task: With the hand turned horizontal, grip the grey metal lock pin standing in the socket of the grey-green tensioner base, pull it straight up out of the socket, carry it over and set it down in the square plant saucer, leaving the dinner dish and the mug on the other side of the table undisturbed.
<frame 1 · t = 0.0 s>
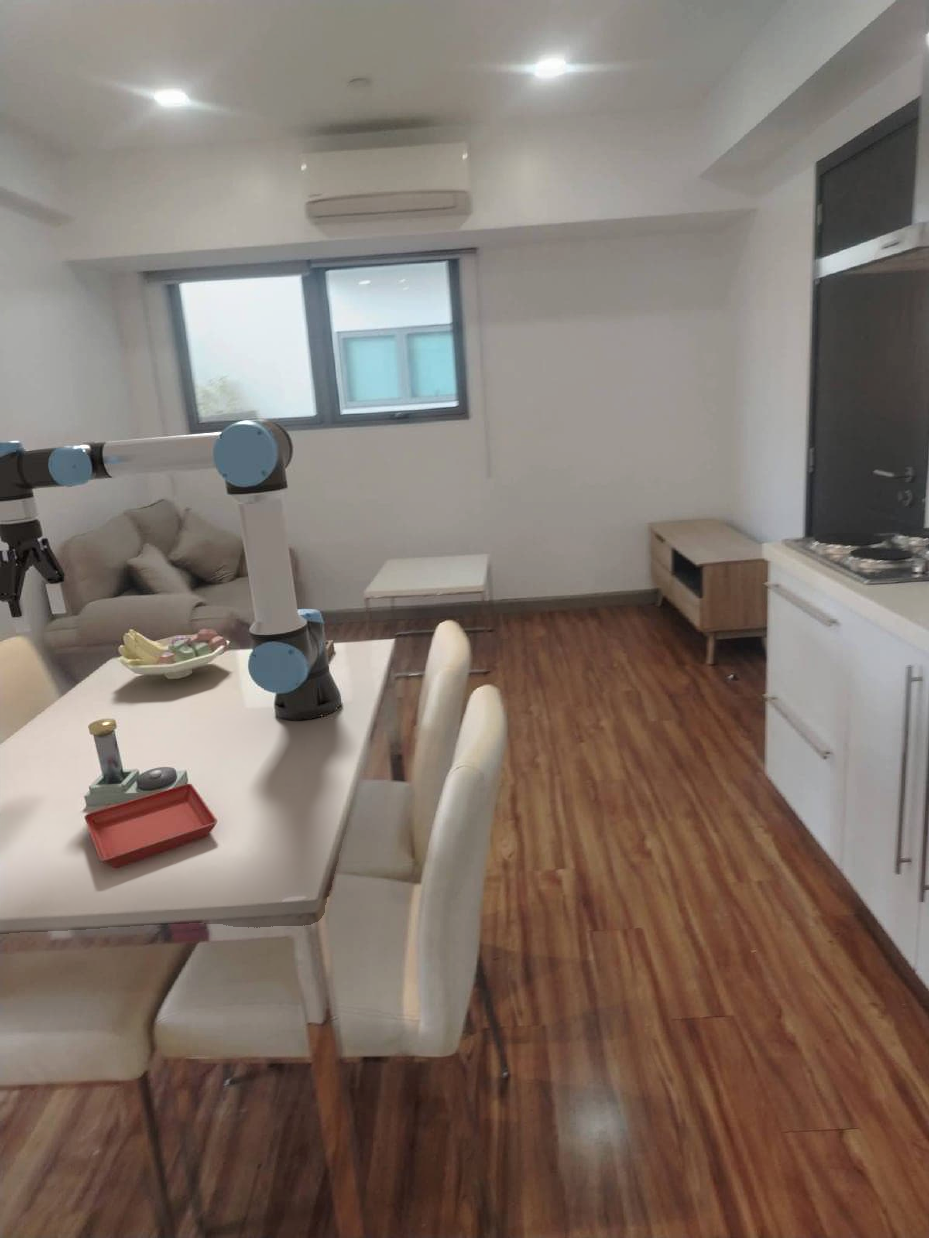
hand: (42, 622, 164), 28 cm above the table, tool pointing down, fingers open, 13 cm apart
lock pin: (115, 783, 148), point 2 cm above the table, touching tensioner base
pottery mug: (299, 664, 215), on the table
mug caddy: (299, 662, 214), on the table
dish with food: (179, 675, 213), on the table
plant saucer: (153, 836, 133), on the table
tensioner base: (117, 793, 148), on the table
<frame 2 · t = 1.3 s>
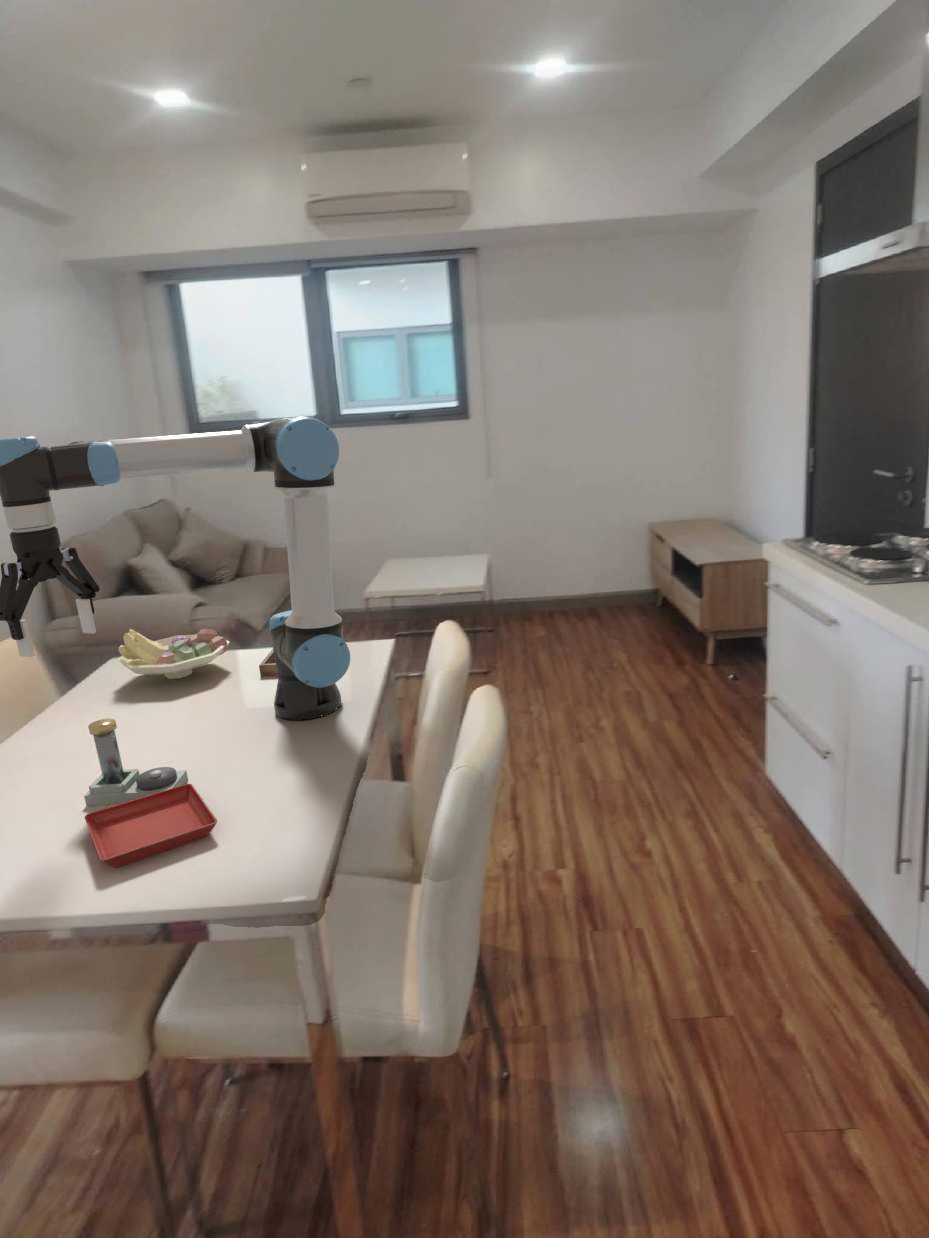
hand: (59, 644, 144), 29 cm above the table, tool pointing down, fingers open, 13 cm apart
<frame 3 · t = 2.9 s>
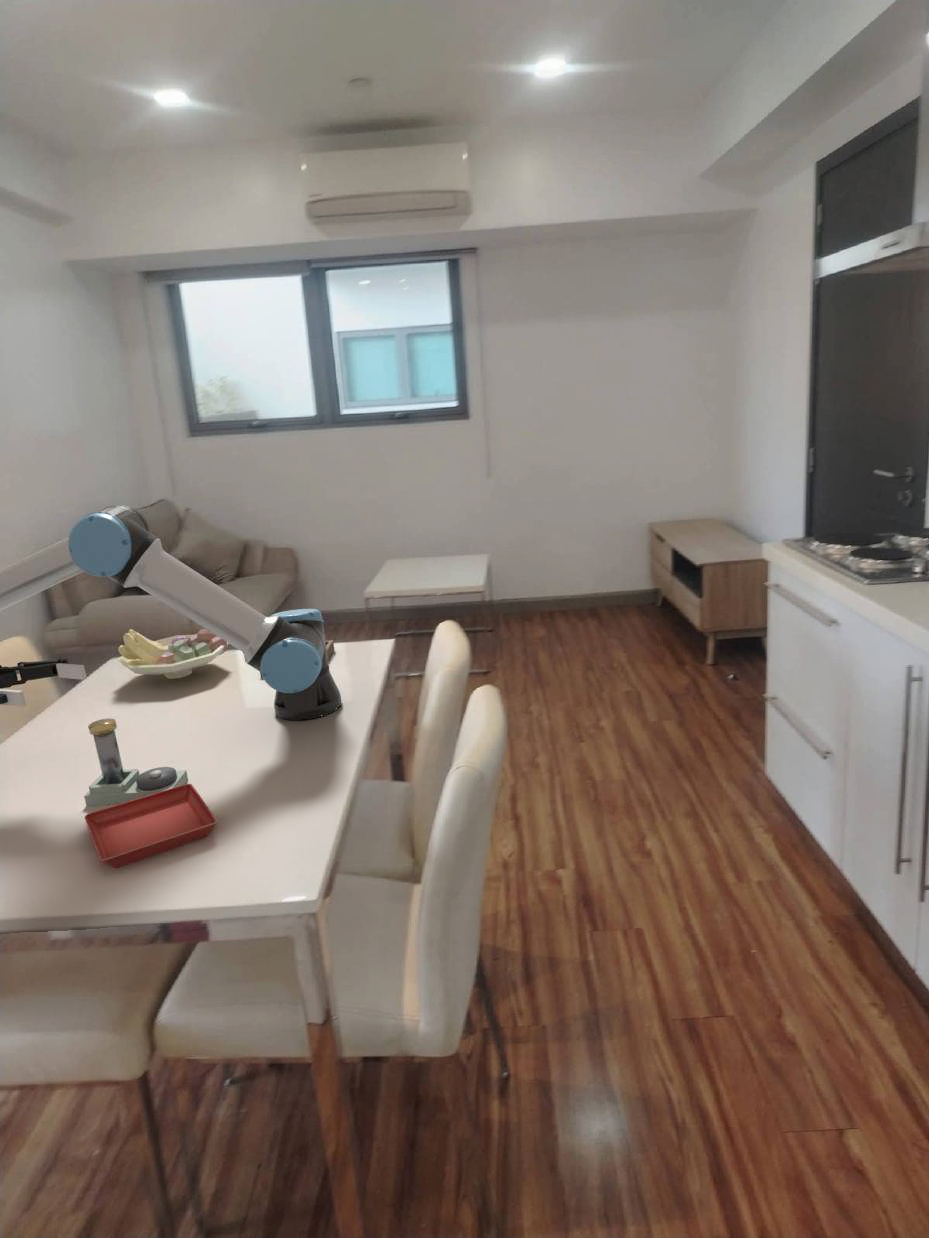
hand: (54, 685, 146), 21 cm above the table, tool horizontal, fingers open, 13 cm apart
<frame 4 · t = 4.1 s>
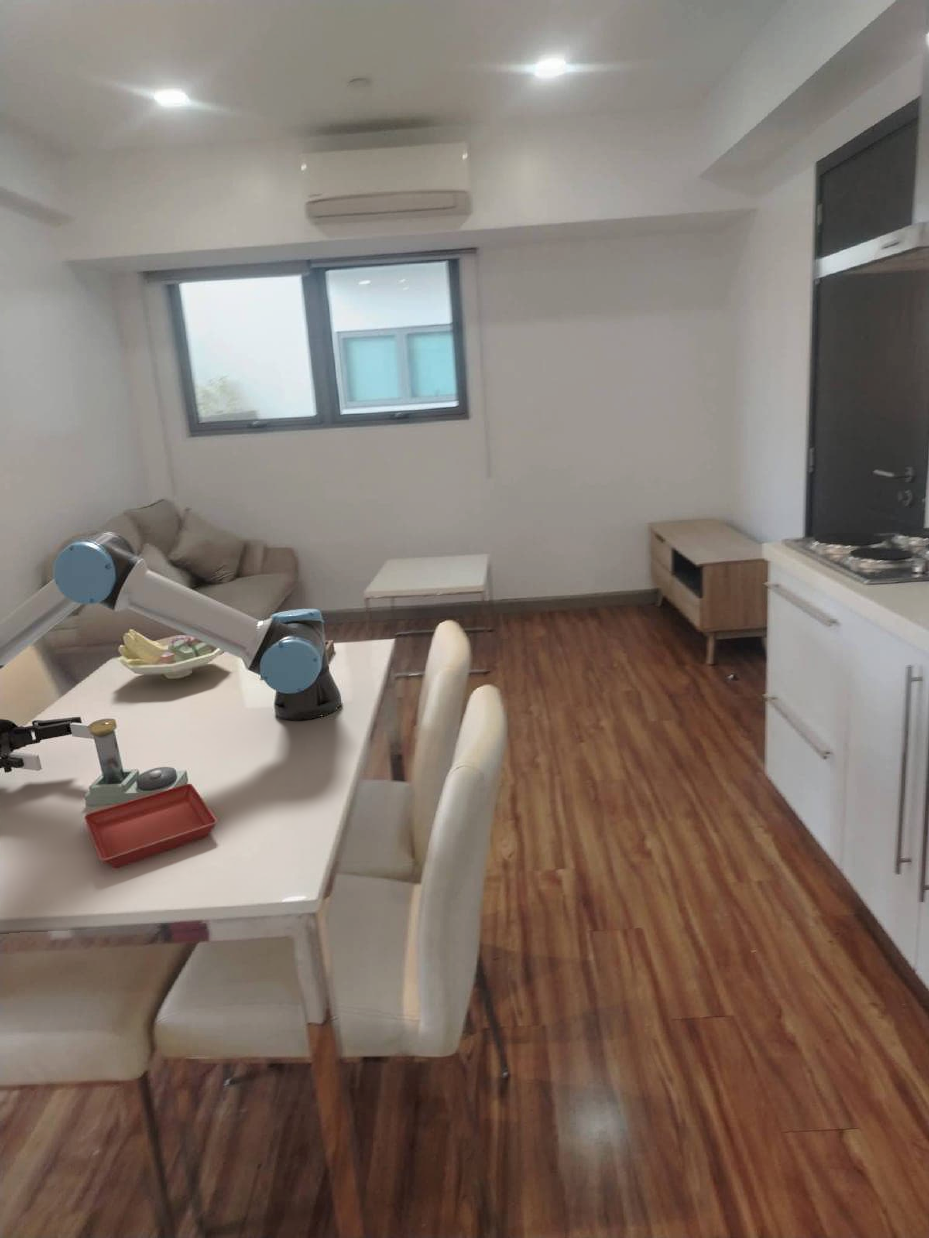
hand: (69, 747, 149), 9 cm above the table, tool horizontal, fingers open, 13 cm apart
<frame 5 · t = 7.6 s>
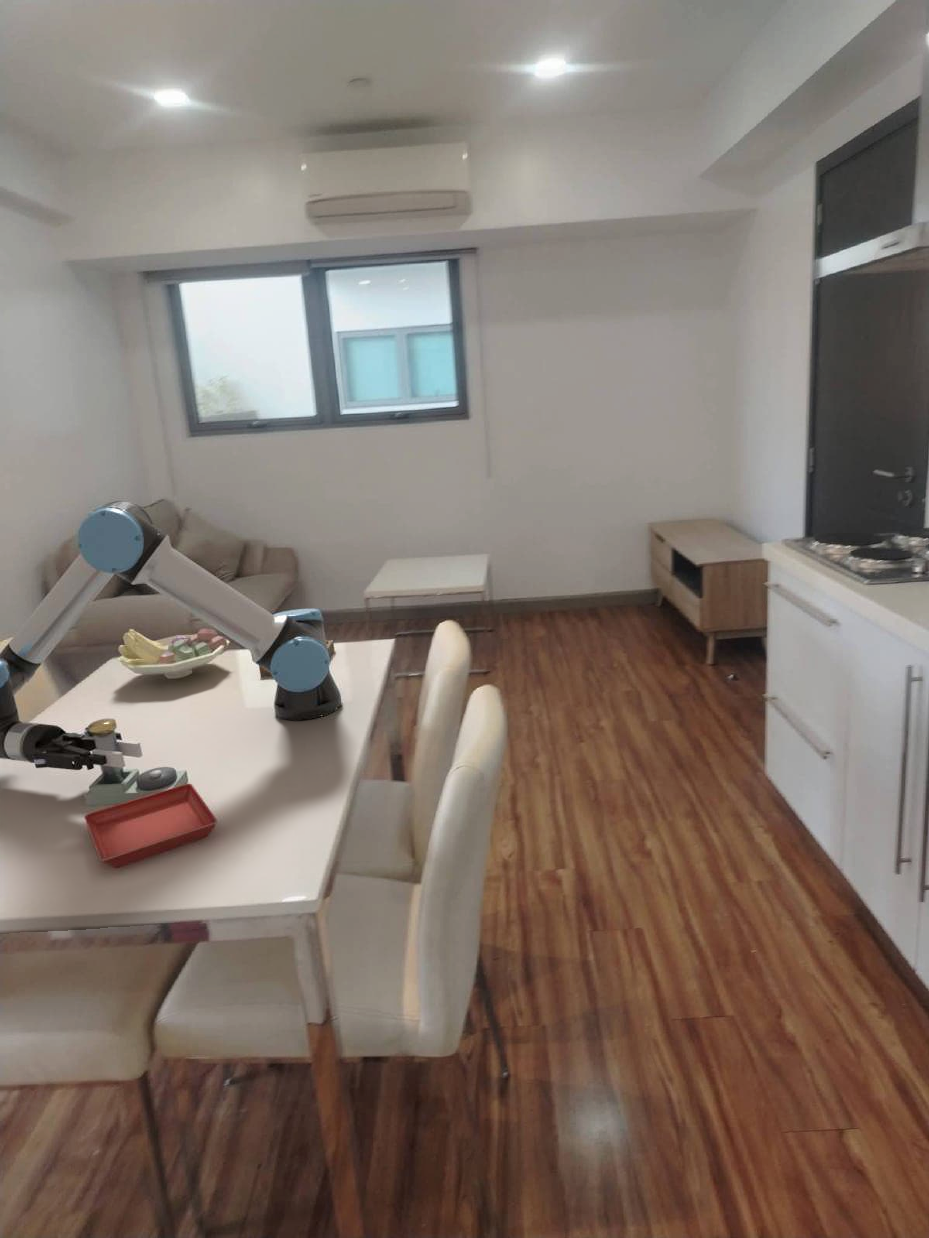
hand: (130, 754, 144), 8 cm above the table, tool horizontal, fingers closed on lock pin, 3 cm apart
lock pin: (115, 783, 148), point 2 cm above the table, touching gripper, tensioner base
pottery mug: (305, 665, 213), on the table, touching mug caddy
everything else where it was.
when the fingers open (9 cm above the table, at t = 12.6 s): lock pin stays where it is, resting on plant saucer.
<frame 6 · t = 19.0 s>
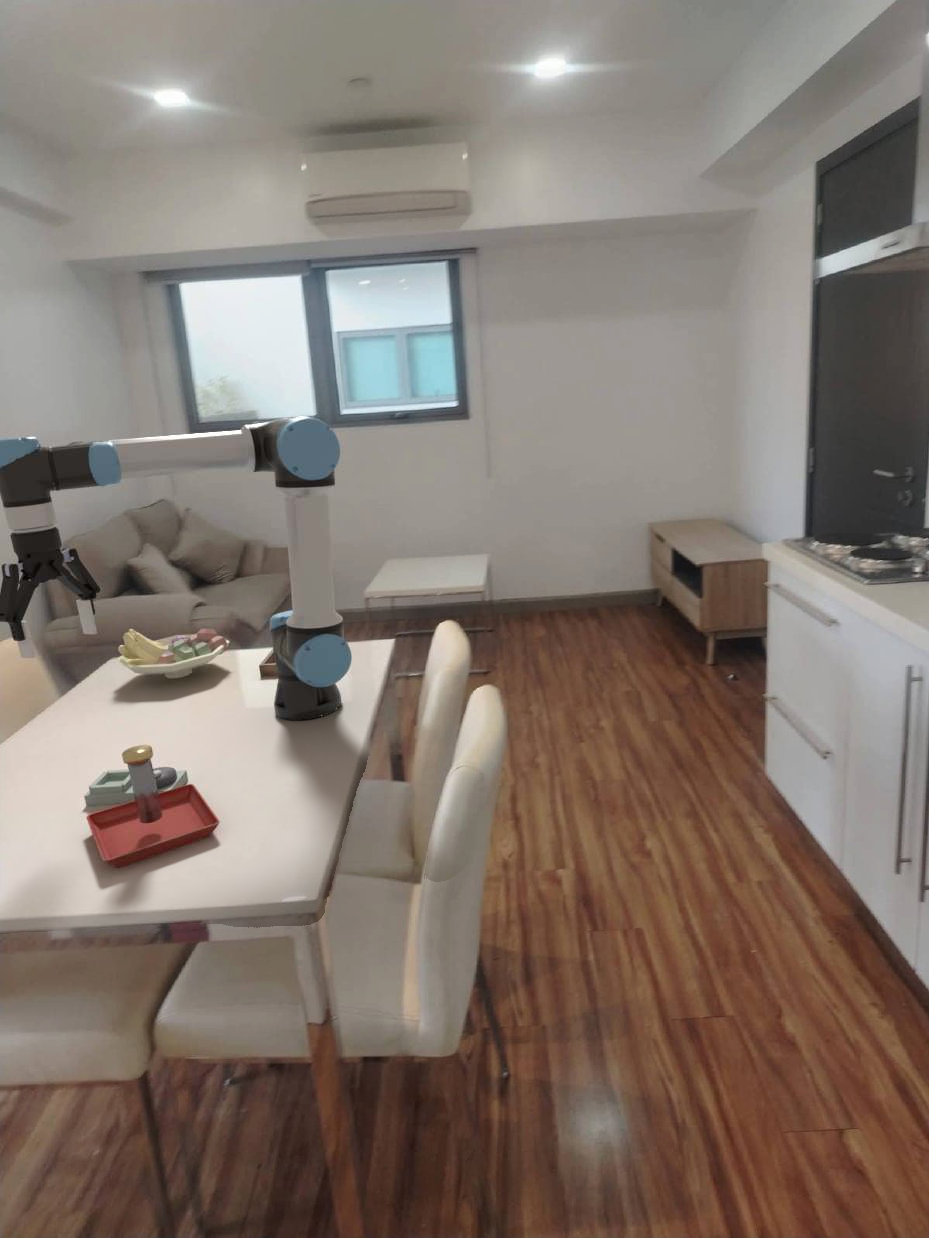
hand: (60, 645, 144), 29 cm above the table, tool pointing down, fingers open, 13 cm apart
lock pin: (151, 817, 133), point 3 cm above the table, touching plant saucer
pottery mug: (304, 666, 213), on the table
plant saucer: (155, 836, 133), on the table, touching lock pin
everything else where it was.
at the end: lock pin 0.1 cm from the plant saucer (horizontally); lock pin point 2.8 cm above the table; dish with food moved 0.5 cm from its start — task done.
